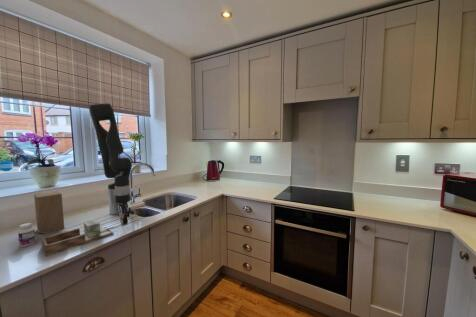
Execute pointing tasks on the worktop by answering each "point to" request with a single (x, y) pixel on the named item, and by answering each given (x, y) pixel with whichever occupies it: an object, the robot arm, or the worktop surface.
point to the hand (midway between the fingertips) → (124, 222)
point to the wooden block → (49, 211)
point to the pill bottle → (26, 235)
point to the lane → (69, 240)
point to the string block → (97, 227)
